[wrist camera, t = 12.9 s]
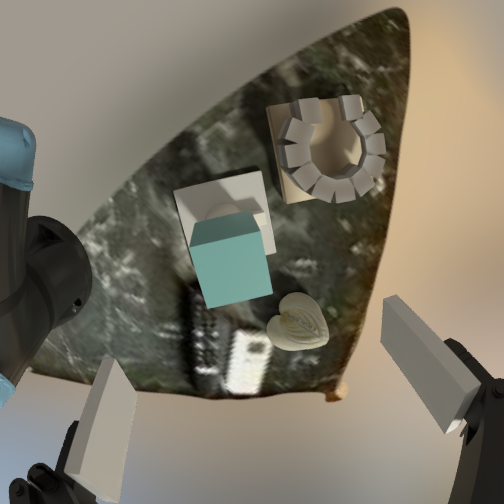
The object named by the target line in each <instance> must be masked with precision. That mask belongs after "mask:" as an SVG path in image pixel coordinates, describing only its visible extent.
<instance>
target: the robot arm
mask: <svg viewBox="0 0 504 504" xmlns="http://www.w3.org/2000/svg"><path fill="white" fill-rule="evenodd" d="M35 152H36V139H35V136H34V133H33V132H32V130H31V129H30V128H29V127H28V126H26V125H24V124H22V123H19V122H16V121H13V120H10V119H6V118H2V117H0V409H1V408H2V407H3V406H4V405H5V403H6V402H7V401H8V399H9V398H10V397H11V395H12V394H13V393H14V392H15V391H16V386H17V384H18V382H19V381H20V379H21V377H22V375H23V374H24V372H25V370H26V369H27V367H28V365H29V364H30V362H31V361H32V359H33V357H34V356H35V354H36V353H37V351H38V349H39V348H40V346H41V345H42V343H43V342H44V340H45V339H46V337H47V335H48V334H49V333H50V331H51V330H53V329H55V328H56V327H58V326H60V325H62V324H64V323H66V322H67V321H69V320H71V319H73V318H74V317H75V316H76V315H77V314H78V313H79V312H80V311H81V310H82V308H83V307H84V305H85V304H86V302H87V301H88V299H89V296H90V293H91V289H92V271H91V266H90V262H89V259H88V256H87V254H86V252H85V250H84V248H83V246H82V244H81V243H80V241H79V240H78V238H77V237H76V236H75V235H74V233H73V232H72V231H71V230H69V228H67V227H66V226H65V225H64V224H62V223H61V222H59V221H57V220H55V219H53V218H50V217H46V216H33V217H29V218H28V208H29V199H30V192H31V190H32V189H33V184H34V183H33V181H32V175H33V166H34V159H35ZM381 343H382V345H383V346H384V347H385V349H386V350H387V351H388V353H389V354H390V355H391V357H392V358H393V360H394V361H395V363H396V364H397V365H398V367H399V368H400V370H401V371H402V372H403V374H404V375H405V377H406V378H407V379H408V381H409V382H410V384H411V385H412V386H413V388H414V389H415V391H416V392H417V394H418V395H419V397H420V398H421V400H422V401H423V402H424V404H425V405H426V407H427V408H428V410H429V411H430V413H431V414H432V416H433V417H434V419H435V420H436V422H437V423H438V425H439V426H440V428H441V429H442V431H443V432H444V434H447V433H448V432H450V431H452V430H453V429H455V428H457V427H458V426H459V425H460V424H461V422H462V420H463V418H464V419H465V420H466V422H467V424H466V426H465V427H464V429H463V430H462V432H461V434H460V437H462V436H463V434H464V439H463V445H462V450H461V455H460V460H459V465H458V469H457V473H456V477H455V481H454V485H453V488H452V492H451V495H450V499H449V502H448V504H504V379H501V378H498V379H494V378H493V377H492V376H491V375H490V374H489V373H488V372H487V371H486V370H485V369H484V367H483V366H482V365H481V364H480V363H479V362H478V361H477V360H476V359H475V358H474V357H472V355H471V354H470V353H469V352H467V350H466V348H464V346H463V345H462V344H461V343H459V342H457V341H455V340H453V339H451V338H449V339H447V340H445V341H442V340H441V339H440V338H439V337H438V336H437V335H436V334H435V333H434V332H433V331H432V330H431V328H429V327H428V326H427V324H426V323H425V322H424V321H423V320H422V319H421V318H420V317H419V316H417V314H416V313H415V312H414V311H412V309H411V308H410V307H409V306H407V304H405V302H404V301H403V300H401V299H400V298H399V297H398V296H397V295H394V296H391V297H388V298H385V299H383V314H382V330H381ZM137 398H138V394H137V393H136V391H135V390H134V388H133V387H132V385H131V384H130V382H129V380H128V379H127V377H126V376H125V374H124V372H123V371H122V369H121V367H120V366H119V364H118V362H117V361H116V359H115V358H114V359H106V360H102V363H101V365H100V367H99V370H98V372H97V375H96V377H95V380H94V383H93V385H92V388H91V391H90V393H89V396H88V398H87V401H86V404H85V407H84V409H83V413H82V415H81V418H80V421H74V422H73V423H72V425H71V426H70V427H69V429H68V431H67V434H66V437H65V438H66V439H65V440H64V443H63V447H62V449H61V452H60V455H59V458H58V461H57V465H56V468H55V471H53V470H52V469H51V468H50V467H48V466H47V465H46V464H44V463H37V464H34V465H33V466H32V467H31V468H30V469H29V471H28V475H27V479H28V482H29V483H30V484H29V483H28V482H27V481H25V480H24V479H22V478H16V479H14V480H13V481H12V482H11V484H10V486H9V499H10V504H97V502H96V501H95V500H96V496H97V497H98V498H100V499H101V500H103V501H105V502H112V503H119V499H120V492H121V484H122V478H123V471H124V466H125V460H126V454H127V447H128V442H129V437H130V432H131V427H132V422H133V417H134V412H135V407H136V403H137Z"/></svg>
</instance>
